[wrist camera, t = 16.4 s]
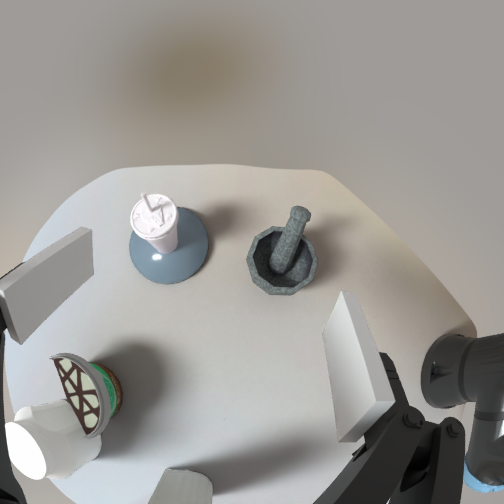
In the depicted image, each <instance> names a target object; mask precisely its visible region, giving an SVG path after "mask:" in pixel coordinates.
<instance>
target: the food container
mask: <svg viewBox="0 0 504 504" xmlns="http://www.w3.org/2000/svg"><path fill="white" fill-rule="evenodd" d="M49 359H52V360H54V363H55V366H56V368H57V371H58V374H59V376H60V379H61V382H62V385H63V388H64V392H65V394H66V397H67V399H68V401H69V403H70V405H71V407H72V409H73V410H74V412H75V414H76V416H77V418H78V420H79V422H80V424H81V426H82V428H83V430H84V432H85V434H86V436H85V437H84V438H86V439H91V438H94V437H96V436H98V435H99V434H101V433H102V432H103V431H104V430H105V428H106V426H107V425H108V422H109V419H110V418H111V417H112V416H113V415H114V414H115V413H116V412H117V411H118V410H119V408H120V406H121V404H122V396H123V393H122V388H121V385H120V382H119V380H118V379H117V377H116V376H115V374H114V373H113V372H112V371H111V370H109V369H108V368H107V367H105V366H103V365H101V364H97V363H92V362H87V361H86V360H84V359H83V358H81V357H79V356H77V355H74V354H70V353H60V354H56V355H53V356H51V358H49Z"/></svg>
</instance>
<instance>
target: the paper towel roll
mask: <svg viewBox="0 0 504 504" xmlns="http://www.w3.org/2000/svg"><path fill="white" fill-rule="evenodd" d="M212 494H213V487H212V483H211V481H210V480H209V479H208V478H207V477H206V476H204V475H203V474H201V473H197V472H193V471H188V470H178V471H174V470H168V469H165V471H164V473H163V475H162V477H161V479H160V481H159V483H158V485H157V487H156V489H155V491H154V493H153V494H152V496H151V498H150V500H149V502H148V504H212Z"/></svg>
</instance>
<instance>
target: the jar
mask: <svg viewBox="0 0 504 504" xmlns="http://www.w3.org/2000/svg"><path fill="white" fill-rule="evenodd" d="M5 429H6V437H7V445H8V451H9V457H10V459H11V461H12V462H13V463H14V465H15V466H16V467H17V468H18V469H19V470H20V471H21V472H22V473H23V474H25V475H26V476H28V477H30V478H33V479H37V480H38V479H42V478H44V477H48V478H52V479H58V480H61V479H66V478H68V477H69V476H71V475H72V474H73V473H74V472H75V471H77V470H78V469H79V468H81V467H82V466H84V465H85V464H86V463H88V462H90V461H92V460H93V459H94V458H96V457H97V456H98V454H99V453H100V450H101V445H102V440H101V434H99V435H98V436H96V437H94V438H91V439H86V438H84V437H85V436H86V434H85V432H84V430H83V428H82V426H81V424H80V422H79V420H78V418H77V416H76V414H75V412H74V410H73V409H72V407H71V405H70V404H69V403H68V402H67V401H65V400H59V401H55V402H52V403H47V404H42V405H37V406H27V407H23V408H21V409H20V410H19V411H18V412H17V414H16V416H15V419H14V421H13V422H9V423H6V424H5Z"/></svg>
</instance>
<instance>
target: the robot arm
mask: <svg viewBox="0 0 504 504" xmlns="http://www.w3.org/2000/svg"><path fill="white" fill-rule="evenodd" d="M93 275H94V268H93V249H92V229H88V228H84V227H80V228H79V229H77V230H75V231H74V232H72V233H70V234H68V235H67V236H65V237H63V238H62V239H60V240H59V241H57V242H55V243H54V244H52V245H50V246H49V247H47V248H46V249H44V250H43V251H41V252H40V253H38V254H37V255H35V256H33V257H32V258H30V259H29V260H28V261H26V262H23V263H21V264H19V265H18V266H16V267H15V268H14V270H11V271H9V272H8V273H7V274H5V275H4V276H3V277H1V278H0V504H27V502H26V499H25V496H24V493H23V490H22V488H21V487H20V485H19V483H18V482H17V480H16V479H15V477H14V475H13V472H12V467H11V462H10V457H9V451H8V445H7V437H6V429H5V419H4V404H3V362H4V361H3V360H4V346H5V334H4V332H3V331H4V330H5V329H6V328H7V329H8V331H9V334H10V336H11V338H12V339H13V340H15V341H16V342H18V343H19V344H21V345H22V344H23V343H24V342H25V341H26V339H27V338H28V337H29V336H30V335H31V334H32V333H33V332H34V331H35V330H36V329H37V328H38V327H39V326H40V325H41V324H42V323H43V322H44V321H45V320H46V319H47V318H48V317H49V316H50V315H51V314H52V313H53V312H54V311H55V310H56V309H57V308H58V307H59V306H60V305H61V304H62V303H63V302H64V301H65V300H66V299H67V298H68V297H69V296H71V295H72V294H73V293H74V292H75V291H76V290H77V289H78V288H79V287H80V286H81V285H82V284H84V283H85V282H86V281H87V280H88V279H89V278H90V277H91V276H93ZM322 335H323V341H324V347H325V352H326V358H327V365H328V371H329V377H330V384H331V391H332V398H333V405H334V412H335V420H336V428H337V437H338V442H357V441H358V440H359V439H360V438H361V437H362V436H363V435H364V438H365V443H364V444H363V445H362V446H361V447H360V448H359V449H358V450H356V451H355V452H354V453H353V454H352V455H353V456H354V457H353V458H352V459H351V461H350V462H349V463H348V464H347V466H346V467H345V468H344V469H343V471H342V472H341V473H340V474H339V475H338V477H337V478H336V479H335V480H334V481H333V482H332V484H331V485H330V486H329V487H328V488H327V489H326V490H325V491H324V492H323V494H322V495H321V496H320V497H319V498H318V499H317V500H316V501H315V502H314V503H313V504H386V503H387V502H388V500H389V498H390V500H389V503H388V504H460V500H461V492H462V485H463V480H464V482H465V484H466V485H467V486H468V487H470V488H471V489H473V490H475V491H478V492H484V493H488V492H489V491H492V492H497V491H500V490H502V489H504V333H502V334H497V335H492V336H487V337H482V338H477V339H475V338H471V337H465V336H463V335H460V334H450V335H445V336H442V337H440V338H439V339H437V340H436V341H435V342H434V343H433V344H432V346H431V347H430V349H429V350H428V352H427V354H426V357H425V359H424V362H423V366H422V372H421V388H422V393H423V396H424V398H425V400H426V401H427V403H428V404H429V405H431V406H432V407H435V408H441V409H449V408H452V407H455V406H456V405H461V404H464V403H466V402H476V406H475V407H476V408H475V414H474V421H473V427H472V432H471V438H470V443H469V447H468V452H467V453H466V456H465V430H464V427H463V425H462V423H461V422H460V421H459V420H457V419H456V418H454V417H447V418H445V419H444V420H443V421H442V422H441V423H440V424H436V423H432V422H428V421H425V418H424V416H423V415H422V413H421V412H420V411H419V410H418V409H416V408H414V407H412V406H409V403H408V401H407V398H406V395H405V392H404V389H403V387H402V384H401V381H400V380H399V376H398V373H396V368H395V366H394V363H393V361H392V360H391V359H390V357H389V356H388V355H387V354H386V353H381V352H378V349H377V347H376V344H375V341H374V339H373V336H372V334H371V331H370V329H369V326H368V324H367V321H366V319H365V316H364V314H363V311H362V309H361V306H360V304H359V302H358V299H357V297H356V295H355V294H354V293H349V292H345V291H341V293H340V295H339V298H338V300H337V302H336V304H335V307H334V309H333V311H332V313H331V316H330V318H329V320H328V322H327V324H326V326H325V329H324V331H323V333H322Z"/></svg>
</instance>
